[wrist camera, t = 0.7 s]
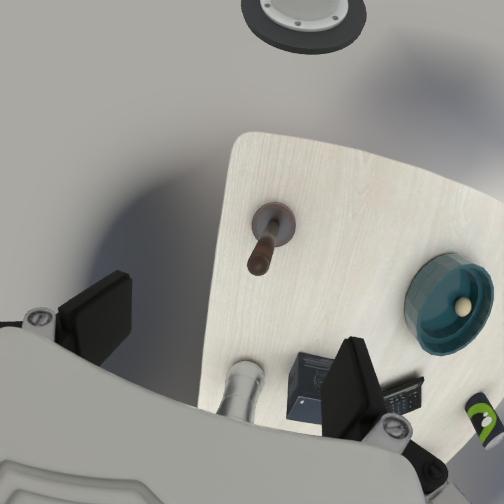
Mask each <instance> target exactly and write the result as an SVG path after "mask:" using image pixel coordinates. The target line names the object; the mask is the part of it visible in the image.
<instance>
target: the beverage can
mask: <svg viewBox="0 0 504 504" xmlns="http://www.w3.org/2000/svg"><path fill="white" fill-rule="evenodd" d="M465 411H466V413H467V415H468V416H469V418H470V420H471V422H472V424H473V426H474V428H475V430H476V432H477V434H478V436H479V439H480V440H481V443H482V445H483V447H485V449H486V450H488V449H491V448H492V447H494V446H495V445H497V444H498V443H499V442H500V441H501V440H502V439H503V438H504V426H503V424H502V422H501V421H500V419H499V417H498V415H497V414H496V412H495V410H494V409H493V407H492V405H491V404H490V402H489V401H488V399H487V397H486V396H485V394H483V393H478V394H476V395H474V396H473V397H472V398H471V399H470V400H469V401H468V402H467V404H466V408H465Z"/></svg>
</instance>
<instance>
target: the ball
mask: <svg viewBox="0 0 504 504" xmlns="http://www.w3.org/2000/svg"><path fill="white" fill-rule="evenodd" d="M470 310H471V302H470V300H469V299H468V298H466V297H461V298H459V299H458V300H457V301H456V303H455V312H456V313H457V315H459V316H466V315H467V314H469V312H470Z"/></svg>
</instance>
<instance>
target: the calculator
mask: <svg viewBox="0 0 504 504" xmlns="http://www.w3.org/2000/svg"><path fill="white" fill-rule="evenodd" d="M423 382H424V377H420V378H418V379H416V380H413V381H411V382H409V383H406V384H404V385H401V386H399V387H396V388H393V389H391V390H388V391H385V392H382V395H383V398H384V402H385V405H386V408H387V412H388V413H396V414H399V415H403V414H406V413H408V412H411V411H413V410H416V409H418V408H420V407H421V385H422V384H423Z"/></svg>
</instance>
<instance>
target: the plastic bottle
mask: <svg viewBox="0 0 504 504" xmlns="http://www.w3.org/2000/svg"><path fill="white" fill-rule="evenodd" d="M263 385H264V373H263V371H262V369H261V368H260V367H259V366H258V365H257V364H255V363H253V362H250V361H241V362H238V363H235V364H234V365H232V367H231V368H230V369H229V371H228V373H227V375H226V381H225V391H224V395H223V399H222V401H221V404H220V406H219V408H218V411H217V413H216V414H218V415H222V416H225V417H229V418H232V419H236V420H240V421H244V422H248V423H252V424H254V416H255V408H256V403H257V400H258V397H259V394H260V392H261V391H262V388H263Z"/></svg>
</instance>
